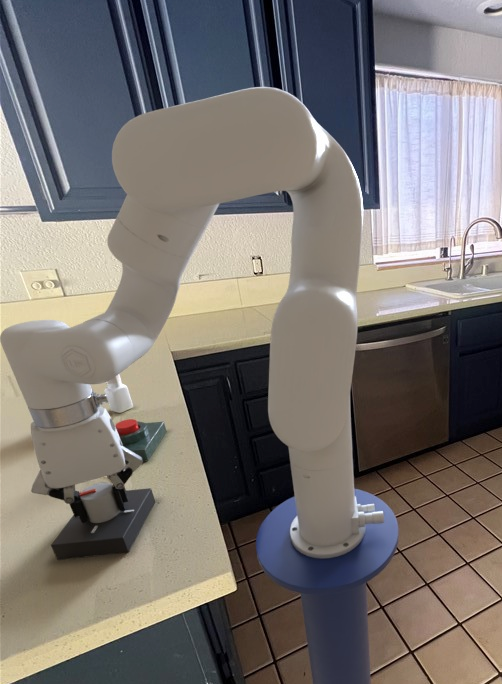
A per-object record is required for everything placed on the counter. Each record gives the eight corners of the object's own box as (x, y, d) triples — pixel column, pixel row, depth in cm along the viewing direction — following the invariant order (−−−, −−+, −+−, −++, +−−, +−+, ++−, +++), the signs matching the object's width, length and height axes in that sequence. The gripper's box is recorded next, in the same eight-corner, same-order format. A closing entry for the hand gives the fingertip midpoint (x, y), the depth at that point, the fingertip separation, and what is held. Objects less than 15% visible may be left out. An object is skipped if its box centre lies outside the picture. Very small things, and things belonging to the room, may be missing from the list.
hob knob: (120, 501, 71) (112, 477, 69) (120, 517, 67) (112, 492, 65) (89, 510, 69) (79, 486, 67) (88, 527, 65) (77, 502, 63)
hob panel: (155, 501, 75) (151, 487, 74) (128, 552, 65) (122, 536, 63) (95, 507, 74) (89, 492, 73) (57, 560, 63) (49, 544, 62)
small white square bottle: (125, 404, 111) (114, 370, 107) (134, 407, 109) (124, 373, 105) (110, 411, 108) (98, 376, 104) (119, 414, 106) (108, 379, 102)
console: (166, 431, 98) (162, 414, 96) (148, 460, 87) (142, 441, 85) (120, 435, 97) (114, 417, 95) (95, 465, 86) (88, 446, 84)
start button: (141, 425, 92) (139, 418, 91) (134, 434, 89) (132, 427, 88) (122, 427, 92) (119, 419, 91) (114, 436, 88) (111, 429, 87)
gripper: (131, 387, 67) (160, 482, 75) (-6, 414, 59) (42, 517, 67) (134, 405, 61) (164, 506, 69) (-18, 437, 53) (36, 547, 61)
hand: (103, 510), depth 68 cm, fingers closed on hob knob, 4 cm apart
